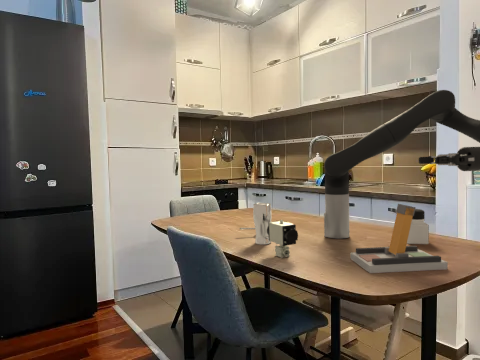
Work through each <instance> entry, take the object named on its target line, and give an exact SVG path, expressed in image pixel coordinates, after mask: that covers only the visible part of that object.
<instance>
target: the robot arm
mask: <svg viewBox="0 0 480 360" xmlns="http://www.w3.org/2000/svg"><path fill="white" fill-rule="evenodd" d="M428 120H431V121H432V122H435V123H438V124H440V125H443V126H444V127H447V128H450V129H451V130H454V131H456V132H459V133H460V134H463V135H465V136H467V137H469V138H471V139H472V140H474V141H476V142H478V143H480V119H475V118H472V117H470V116H467V115H466V114H464V113H462V112H461V111H460V110H458V109H457V108H456V97H455V94H454V92H452V91H450V90H447V89H440V90H436V91H434V92H431V94H429V95H427V96H425V98H423V99H422V100H420V101H419V102H417V103H416V104H415V105H413V106H412V107H410V108H409V109H407V110H405V111H404V112H402V113H400V114H398V115H397V116H395V117H393V118H392V119H390V120H389V121H387V122H385V123H383V124H381V125H379V126H378V127H376V128H374V129H373V130H371V131H370V132H368V133H367V134H365V135H364V136H363V137H362V138H360V139H359V140H358V141H357V142H355V143H354V144H352V145H350V146H347V147H346V148H344V149H342V150H340V151H337V152H335V153H333V154H330V155H328V156H327V158H325V160H324V165H323V167H324V179H325V180H324V199H325V201H324V208H325V209H324V211H325V212H324V214H323V222H324V223H323V227H324V228H323V230H324V231H323V235H324V238H330V239H339V240H340V239H347V238H350V194H349V193H350V184H349V183H350V182H349V181H350V179H349V176H350V175H349V173H350V172H349V171H350V170H352V169H353V168H355V167H356V166H358V165H359V164H360V163H363V162H364V161H366V160H368V159H371V158H373V157H376V156H378V155H380V154H383V153H385V152H386V151H388V150H390V149H392V148H393V147H395V146H397V145H399V144H400V143H402V142H403V141H404V140H405V139H406V138H407V137H408V136H410V135H411V134H412V133H413V131H414V130H416V129H417V128H418V127H419V126H420V125H421V124H423V123H425V122H426V121H428ZM418 164H421V165H425V164H426V165H427V164H428V165H434V164H436V165H438V166H448V167H457V168H458V169H459V170H460V171H462V172H479V171H480V146H464V147H461V148H459V149H458V150H457V152H454V153H453V152H452V153H446V154H442V153H441V154H438V155H434V156H433V155H428V156H419V157H418Z"/></svg>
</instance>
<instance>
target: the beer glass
mask: <svg viewBox="0 0 480 360" xmlns="http://www.w3.org/2000/svg"><path fill="white" fill-rule="evenodd" d="M252 210H253V211H252V215H253V216H252V217H253V224H254V228H255V229H254V230H255V240H254V242H255V243H254V244H256V245H260V246H264V245H269V244H271V243H272V241H269V235H268V234H267V227H268V222H272V215H273V213H272V203H270V202H257V203H253V209H252Z"/></svg>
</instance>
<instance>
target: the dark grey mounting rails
mask: <svg viewBox="0 0 480 360" xmlns="http://www.w3.org/2000/svg"><path fill="white" fill-rule="evenodd" d="M385 247H386V246H382V247H381V246H379V247H378V246H377V247H356V248H355V252H356V253H357V254H367V253H385ZM418 249H419V247H418V246H417V245H406V249H405V252H410V251H418ZM441 259H442V256H440V255H433V256H418V257H397V258H376V259H372V264H373V265H388V264H408V263H429V262H441Z"/></svg>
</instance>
